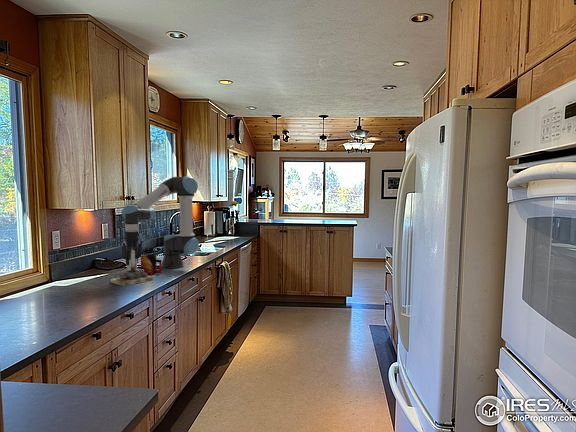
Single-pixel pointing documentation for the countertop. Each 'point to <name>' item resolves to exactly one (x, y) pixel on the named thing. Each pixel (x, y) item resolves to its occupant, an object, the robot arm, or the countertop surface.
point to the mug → (150, 264)
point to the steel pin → (132, 261)
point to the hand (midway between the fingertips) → (132, 269)
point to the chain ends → (131, 277)
